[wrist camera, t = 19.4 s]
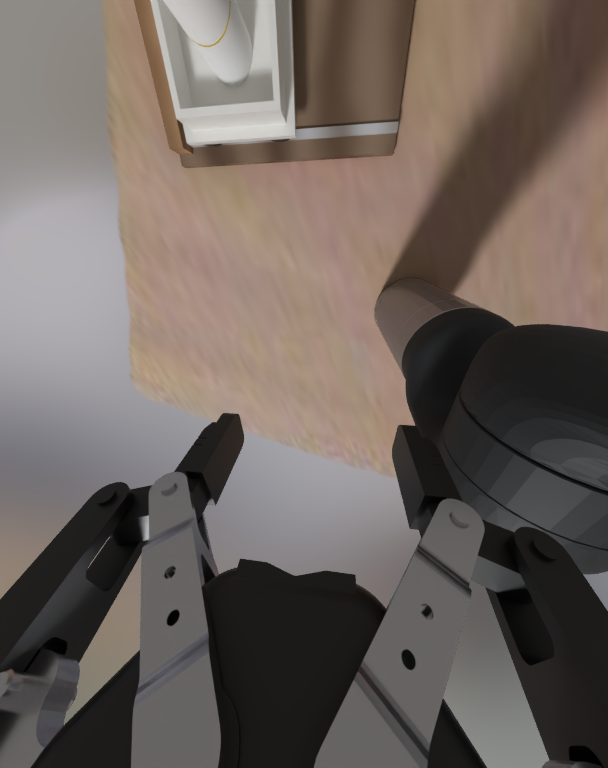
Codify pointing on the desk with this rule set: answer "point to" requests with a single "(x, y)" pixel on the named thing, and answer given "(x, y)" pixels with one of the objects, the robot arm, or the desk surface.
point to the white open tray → (233, 103)
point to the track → (316, 84)
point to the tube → (217, 35)
